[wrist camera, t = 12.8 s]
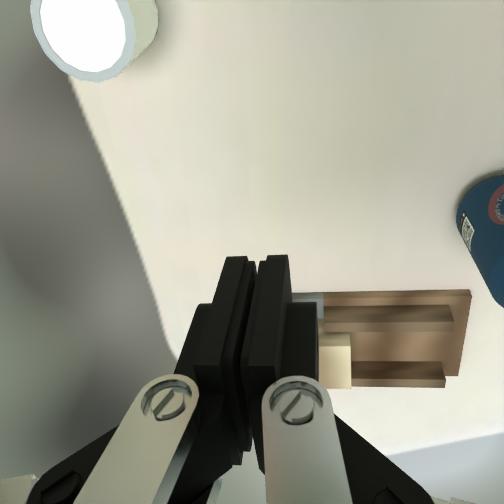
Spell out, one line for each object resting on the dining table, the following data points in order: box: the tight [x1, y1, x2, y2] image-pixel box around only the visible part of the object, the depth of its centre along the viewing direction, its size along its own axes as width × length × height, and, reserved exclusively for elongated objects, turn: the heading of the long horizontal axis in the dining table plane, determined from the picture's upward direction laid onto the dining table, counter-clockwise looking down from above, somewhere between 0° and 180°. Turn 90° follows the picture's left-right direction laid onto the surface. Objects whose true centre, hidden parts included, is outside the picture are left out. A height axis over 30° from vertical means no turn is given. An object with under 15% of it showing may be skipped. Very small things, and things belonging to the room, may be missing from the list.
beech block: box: [318, 319, 351, 389], centre depth 47 cm, size 6×6×4 cm
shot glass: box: [30, 0, 158, 82], centre depth 31 cm, size 7×7×7 cm
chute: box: [292, 290, 472, 388], centre depth 47 cm, size 23×11×4 cm, turn 97°
